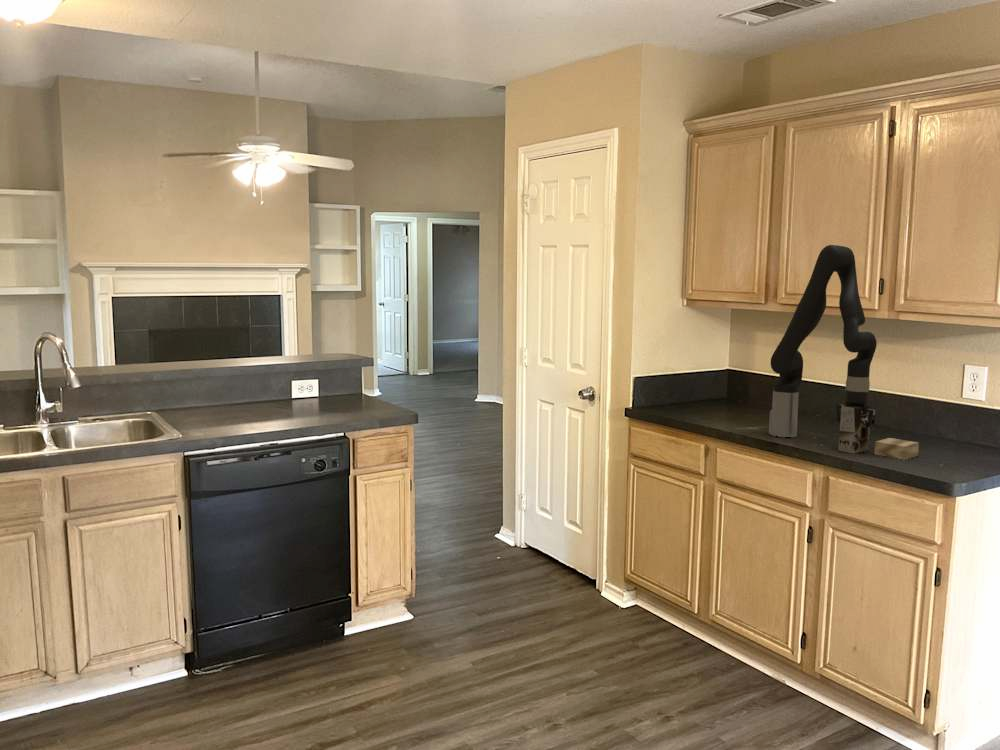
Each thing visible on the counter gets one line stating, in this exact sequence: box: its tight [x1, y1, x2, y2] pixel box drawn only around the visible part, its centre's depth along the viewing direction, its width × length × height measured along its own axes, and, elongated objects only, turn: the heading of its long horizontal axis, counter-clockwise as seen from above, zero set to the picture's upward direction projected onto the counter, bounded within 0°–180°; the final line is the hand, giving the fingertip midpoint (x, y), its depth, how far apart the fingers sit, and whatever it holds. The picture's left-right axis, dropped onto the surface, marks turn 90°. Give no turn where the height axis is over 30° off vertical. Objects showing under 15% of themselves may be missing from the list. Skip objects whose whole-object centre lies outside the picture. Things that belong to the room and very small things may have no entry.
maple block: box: [874, 437, 920, 461], centre depth 268 cm, size 10×10×5 cm
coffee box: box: [838, 404, 872, 455], centre depth 274 cm, size 9×6×16 cm
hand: (854, 436), depth 274 cm, fingers closed on coffee box, 6 cm apart
